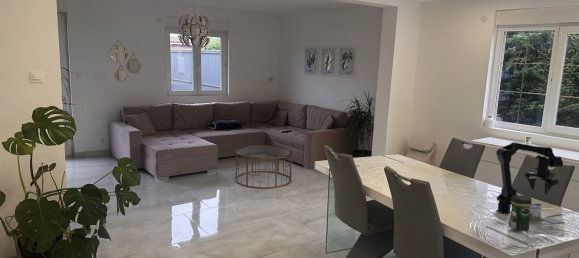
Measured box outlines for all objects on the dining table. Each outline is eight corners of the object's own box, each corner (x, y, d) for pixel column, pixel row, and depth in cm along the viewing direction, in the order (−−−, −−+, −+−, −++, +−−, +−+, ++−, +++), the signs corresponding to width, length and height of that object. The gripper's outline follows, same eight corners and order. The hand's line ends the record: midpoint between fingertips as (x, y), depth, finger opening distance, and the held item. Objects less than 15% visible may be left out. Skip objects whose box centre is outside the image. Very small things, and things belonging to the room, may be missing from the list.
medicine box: (530, 219, 240) (530, 204, 240) (523, 217, 244) (524, 202, 244) (541, 218, 242) (541, 203, 242) (534, 216, 247) (535, 202, 246)
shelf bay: (530, 221, 238) (530, 214, 237) (518, 216, 246) (519, 209, 245) (543, 220, 240) (544, 212, 240) (531, 215, 248) (531, 208, 248)
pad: (552, 224, 235) (552, 223, 235) (540, 219, 242) (540, 218, 242) (564, 222, 237) (564, 222, 237) (552, 218, 245) (552, 217, 245)
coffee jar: (520, 225, 230) (524, 193, 228) (531, 231, 223) (535, 197, 220) (505, 226, 229) (508, 193, 226) (515, 231, 221) (519, 197, 218)
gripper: (567, 170, 244) (563, 196, 246) (539, 163, 262) (535, 187, 264) (553, 170, 241) (549, 196, 243) (525, 163, 258) (522, 187, 260)
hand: (539, 191), depth 252 cm, fingers open, 9 cm apart
